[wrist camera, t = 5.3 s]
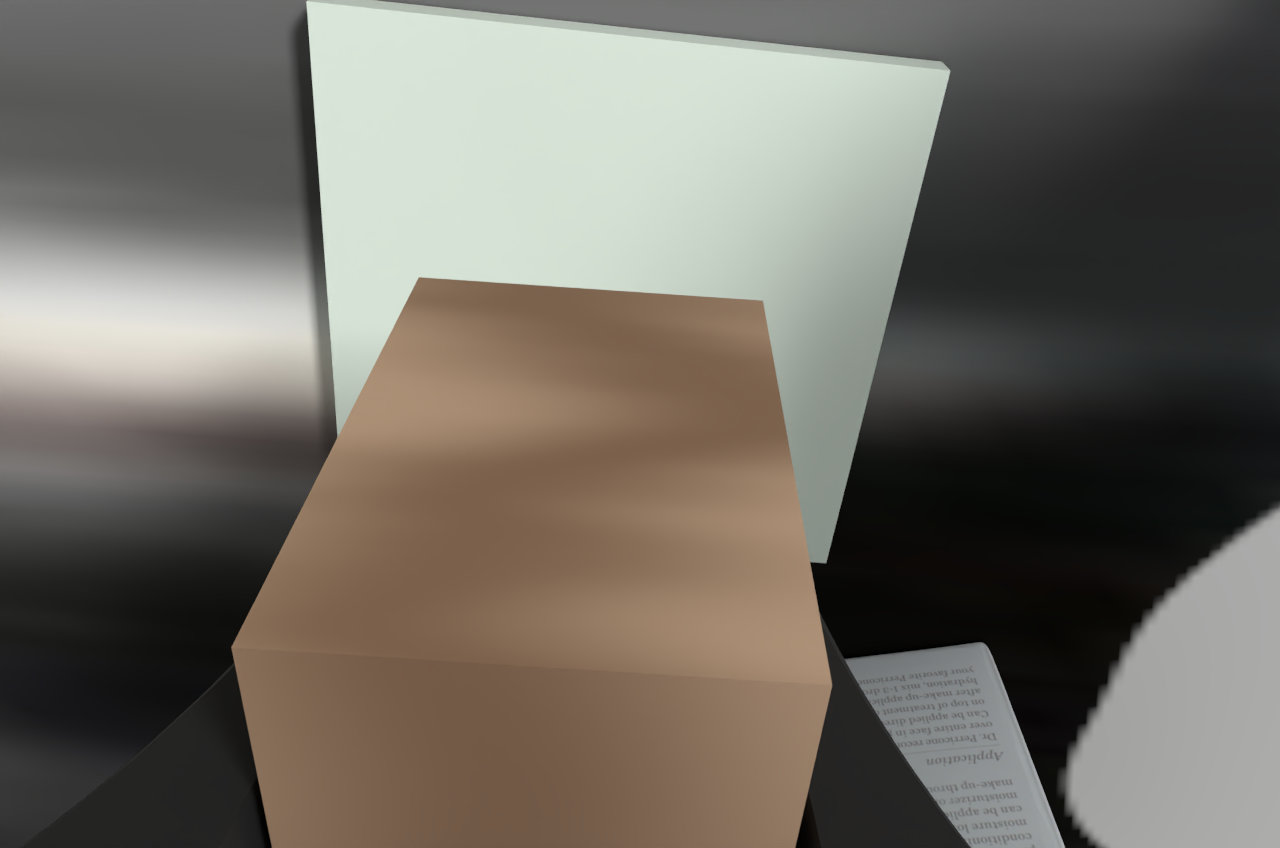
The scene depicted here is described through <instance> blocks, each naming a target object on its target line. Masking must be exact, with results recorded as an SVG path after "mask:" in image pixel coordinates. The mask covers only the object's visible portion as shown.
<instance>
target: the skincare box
mask: <svg viewBox="0 0 1280 848" xmlns="http://www.w3.org/2000/svg"><path fill="white" fill-rule="evenodd" d="M845 661H846V663H847V665H848V666H849V668H850V670H851V672H852V674H853V675H854V677H855V679H856V680H857V682H858V684H859V686H860V687H861V689H862V691H863V692H864V694H865V696H866V697H867V699H868V701H869V702H870V704H871V705H872V707H873V708H874V710H875V712H876V713H877V715H878V716H879V718H880V720H881V721H882V723H883V724H884V726H885V727H886V729H887V731H888V732H889V734H890V735H891V737H892V739H893V740H894V742H895V743H896V745H897V746H898V748H899V749H900V751H901V752H902V754H903V755H904V757H905V758H906V760H907V761H908V763H909V764H910V766H911V767H912V769H913V770H914V771H915V773H916V774H917V776H918V777H919V778H920V780H921V781H922V783H923V784H924V785H925V787H926V788H927V790H928V791H929V792H930V794H931V795H932V797H933V798H934V799H935V801H936V802H937V804H938V805H939V806H940V808H941V809H942V810H943V812H944V813H945V814H946V816H947V817H948V818H949V820H950V821H951V822H952V824H953V825H954V826H955V828H956V829H957V830H958V832H959V833H960V834H961V835H962V837H963V838H964V839H965V841H966V842H967V843H968V844H969V846H970V847H971V848H1065V847H1064V844H1063V841H1062V838H1061V836H1060V833H1059V830H1058V828H1057V825H1056V823H1055V820H1054V818H1053V815H1052V812H1051V810H1050V807H1049V804H1048V802H1047V799H1046V796H1045V794H1044V791H1043V788H1042V786H1041V783H1040V780H1039V778H1038V775H1037V773H1036V770H1035V767H1034V765H1033V762H1032V760H1031V757H1030V754H1029V752H1028V749H1027V746H1026V743H1025V741H1024V738H1023V735H1022V733H1021V730H1020V728H1019V725H1018V722H1017V720H1016V717H1015V715H1014V712H1013V709H1012V707H1011V704H1010V701H1009V699H1008V696H1007V693H1006V690H1005V688H1004V685H1003V683H1002V680H1001V677H1000V675H999V672H998V670H997V667H996V665H995V662H994V660H993V657H992V655H991V653H990V651H989V649H988V647H987V646H986V645H985V644H984V643H982V642H977V643H970V644H963V645H955V646H947V647H940V648H931V649H923V650H915V651H907V652H899V653H890V654H882V655H874V656H866V657H858V658H850V659H845Z"/></svg>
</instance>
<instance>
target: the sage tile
mask: <svg viewBox="0 0 1280 848" xmlns="http://www.w3.org/2000/svg"><path fill="white" fill-rule="evenodd" d="M307 15H308V30H309V44H310V58H311V72H312V86H313V100H314V114H315V128H316V142H317V156H318V170H319V184H320V198H321V212H322V226H323V240H324V254H325V268H326V283H327V297H328V311H329V325H330V339H331V353H332V367H333V381H334V395H335V409H336V423H337V437H338V436H339V434H340V432H341V430H342V428H343V426H344V424H345V422H346V420H347V418H348V416H349V414H350V412H351V410H352V408H353V406H354V404H355V402H356V400H357V398H358V396H359V394H360V392H361V390H362V388H363V386H364V384H365V382H366V380H367V378H368V376H369V375H370V373H371V371H372V369H373V367H374V365H375V363H376V361H377V359H378V357H379V355H380V353H381V351H382V349H383V347H384V345H385V343H386V341H387V339H388V337H389V335H390V333H391V331H392V329H393V327H394V325H395V323H396V321H397V319H398V317H399V315H400V313H401V311H402V309H403V307H404V305H405V303H406V301H407V299H408V297H409V295H410V293H411V292H412V290H413V288H414V286H415V284H416V282H417V280H418V278H419V277H422V278H437V279H452V280H467V281H481V282H496V283H511V284H526V285H540V286H555V287H570V288H585V289H599V290H614V291H629V292H644V293H658V294H673V295H688V296H703V297H717V298H732V299H747V300H762V301H763V304H764V309H765V315H766V321H767V326H768V332H769V337H770V343H771V348H772V354H773V359H774V365H775V370H776V376H777V382H778V387H779V393H780V398H781V404H782V409H783V415H784V420H785V426H786V431H787V437H788V443H789V448H790V454H791V459H792V465H793V470H794V476H795V481H796V487H797V492H798V498H799V503H800V509H801V515H802V520H803V526H804V531H805V537H806V542H807V548H808V553H809V559H810V562H817V563H826V562H827V558H828V554H829V550H830V546H831V542H832V538H833V534H834V530H835V526H836V522H837V519H838V515H839V511H840V507H841V503H842V499H843V495H844V491H845V487H846V483H847V479H848V475H849V471H850V467H851V463H852V459H853V455H854V451H855V447H856V443H857V439H858V435H859V431H860V427H861V423H862V419H863V415H864V411H865V408H866V404H867V400H868V396H869V392H870V388H871V384H872V380H873V376H874V372H875V368H876V364H877V360H878V356H879V352H880V348H881V344H882V340H883V336H884V332H885V328H886V324H887V320H888V316H889V312H890V308H891V304H892V300H893V297H894V293H895V289H896V285H897V281H898V277H899V273H900V269H901V265H902V261H903V257H904V253H905V249H906V245H907V241H908V237H909V233H910V229H911V225H912V221H913V217H914V213H915V209H916V205H917V201H918V197H919V193H920V189H921V185H922V182H923V178H924V174H925V170H926V166H927V162H928V158H929V154H930V150H931V146H932V142H933V138H934V134H935V130H936V126H937V122H938V118H939V114H940V110H941V106H942V102H943V98H944V94H945V90H946V86H947V82H948V78H949V74H950V70H949V69H948V68H947V67H946V66H945V64H944V63H943V62H940V61H931V60H921V59H912V58H903V57H894V56H884V55H875V54H866V53H857V52H847V51H838V50H829V49H820V48H810V47H801V46H792V45H783V44H773V43H764V42H755V41H746V40H736V39H727V38H718V37H709V36H699V35H690V34H681V33H672V32H662V31H653V30H644V29H635V28H625V27H616V26H607V25H598V24H588V23H579V22H570V21H561V20H551V19H542V18H533V17H524V16H514V15H505V14H496V13H487V12H477V11H468V10H459V9H450V8H440V7H431V6H422V5H413V4H403V3H394V2H385V1H376V0H308V1H307Z"/></svg>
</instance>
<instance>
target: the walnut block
mask: <svg viewBox="0 0 1280 848" xmlns="http://www.w3.org/2000/svg"><path fill="white" fill-rule="evenodd" d="M231 648H232V653H233V658H234V663H235V668H236V673H237V678H238V683H239V687H240V692H241V697H242V702H243V707H244V712H245V717H246V722H247V727H248V732H249V737H250V742H251V747H252V751H253V756H254V761H255V766H256V771H257V776H258V781H259V786H260V791H261V796H262V801H263V806H264V811H265V815H266V820H267V825H268V830H269V835H270V840H271V845H272V848H795V847H796V842H797V838H798V834H799V829H800V825H801V820H802V816H803V812H804V807H805V803H806V799H807V794H808V790H809V785H810V781H811V777H812V772H813V768H814V763H815V759H816V755H817V750H818V746H819V742H820V737H821V733H822V728H823V724H824V720H825V715H826V711H827V706H828V702H829V698H830V693H831V689H832V681H831V675H830V670H829V664H828V659H827V653H826V648H825V642H824V636H823V631H822V625H821V620H820V614H819V609H818V603H817V598H816V592H815V587H814V581H813V576H812V570H811V564H810V559H809V553H808V548H807V542H806V537H805V531H804V526H803V520H802V515H801V509H800V503H799V498H798V492H797V487H796V481H795V476H794V470H793V465H792V459H791V454H790V448H789V443H788V437H787V431H786V426H785V420H784V415H783V409H782V404H781V398H780V393H779V387H778V382H777V376H776V370H775V365H774V359H773V354H772V348H771V343H770V337H769V332H768V326H767V321H766V315H765V309H764V304H763V301H762V300H747V299H732V298H717V297H703V296H688V295H673V294H658V293H644V292H629V291H614V290H599V289H585V288H570V287H555V286H540V285H526V284H511V283H496V282H481V281H467V280H452V279H437V278H422V277H419V278H418V280H417V282H416V284H415V286H414V288H413V290H412V292H411V293H410V295H409V297H408V299H407V301H406V303H405V305H404V307H403V309H402V311H401V313H400V315H399V317H398V319H397V321H396V323H395V325H394V327H393V329H392V331H391V333H390V335H389V337H388V339H387V341H386V343H385V345H384V347H383V349H382V351H381V353H380V355H379V357H378V359H377V361H376V363H375V365H374V367H373V369H372V371H371V373H370V375H369V376H368V378H367V380H366V382H365V384H364V386H363V388H362V390H361V392H360V394H359V396H358V398H357V400H356V402H355V404H354V406H353V408H352V410H351V412H350V414H349V416H348V418H347V420H346V422H345V424H344V426H343V428H342V430H341V432H340V434H339V436H338V438H337V440H336V442H335V444H334V446H333V448H332V450H331V452H330V454H329V456H328V458H327V459H326V461H325V463H324V465H323V467H322V469H321V471H320V473H319V475H318V477H317V479H316V481H315V483H314V485H313V487H312V489H311V491H310V493H309V495H308V497H307V499H306V501H305V503H304V505H303V507H302V509H301V511H300V513H299V515H298V517H297V519H296V521H295V523H294V525H293V527H292V529H291V531H290V533H289V535H288V537H287V539H286V540H285V542H284V544H283V546H282V548H281V550H280V552H279V554H278V556H277V558H276V560H275V562H274V564H273V566H272V568H271V570H270V572H269V574H268V576H267V578H266V580H265V582H264V584H263V586H262V588H261V590H260V592H259V594H258V596H257V598H256V600H255V602H254V604H253V606H252V608H251V610H250V612H249V614H248V616H247V618H246V620H245V622H244V623H243V625H242V627H241V629H240V631H239V633H238V635H237V637H236V639H235V641H234V643H233V645H232V647H231Z"/></svg>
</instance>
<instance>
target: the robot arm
mask: <svg viewBox="0 0 1280 848" xmlns="http://www.w3.org/2000/svg"><path fill="white" fill-rule="evenodd" d="M819 614H820V612H819ZM820 620H821V625H822V631H823V636H824V642H825V648H826V653H827V659H828V664H829V670H830V675H831V681H832V689H831V693H830V698H829V702H828V706H827V711H826V715H825V720H824V724H823V728H822V733H821V737H820V742H819V746H818V750H817V755H816V759H815V763H814V768H813V772H812V777H811V781H810V785H809V790H808V794H807V799H806V803H805V807H804V812H803V816H802V820H801V825H800V829H799V834H798V838H797V842H796V847H795V848H971V847H970V846H969V844H968V843H967V842H966V841H965V839H964V838H963V837H962V835H961V834H960V833H959V832H958V830H957V829H956V828H955V826H954V825H953V824H952V822H951V821H950V820H949V818H948V817H947V816H946V814H945V813H944V812H943V810H942V809H941V808H940V806H939V805H938V804H937V802H936V801H935V799H934V798H933V797H932V795H931V794H930V792H929V791H928V790H927V788H926V787H925V785H924V784H923V783H922V781H921V780H920V778H919V777H918V776H917V774H916V773H915V771H914V770H913V769H912V767H911V766H910V764H909V763H908V761H907V760H906V758H905V757H904V755H903V754H902V752H901V751H900V749H899V748H898V746H897V745H896V743H895V742H894V740H893V739H892V737H891V735H890V734H889V732H888V731H887V729H886V727H885V726H884V724H883V723H882V721H881V720H880V718H879V716H878V715H877V713H876V712H875V710H874V708H873V707H872V705H871V704H870V702H869V701H868V699H867V697H866V696H865V694H864V692H863V691H862V689H861V687H860V686H859V684H858V682H857V680H856V679H855V677H854V675H853V674H852V672H851V670H850V668H849V666H848V665H847V663H846V661H845V659H844V658H843V656H842V654H841V652H840V650H839V649H838V647H837V645H836V643H835V641H834V639H833V637H832V636H831V634H830V632H829V630H828V628H827V626H826V624H825V622H824V620H823V618H822V616H821V614H820ZM20 848H272V845H271V840H270V835H269V830H268V825H267V820H266V815H265V811H264V806H263V801H262V796H261V791H260V786H259V781H258V776H257V771H256V766H255V761H254V756H253V751H252V747H251V742H250V737H249V732H248V727H247V722H246V717H245V712H244V707H243V702H242V697H241V692H240V687H239V683H238V678H237V673H236V668H235V663H233V664H232V665H231V666H230V667H229V668H228V669H227V670H226V671H225V672H224V673H223V674H222V675H221V676H220V677H219V678H218V679H217V680H216V681H215V682H214V683H213V684H212V685H211V686H210V687H209V688H208V689H207V690H206V691H205V692H204V693H203V694H202V695H201V696H200V697H199V698H198V699H197V700H196V701H195V702H194V703H193V704H191V705H190V706H189V707H188V708H187V709H186V710H185V711H184V712H183V713H182V714H181V715H180V716H178V717H177V718H176V719H175V720H174V721H173V722H172V723H171V724H170V725H169V726H168V727H166V728H165V729H164V730H163V731H162V732H161V733H160V734H159V735H158V736H157V737H156V738H155V739H153V740H152V741H151V742H150V743H149V744H148V745H147V746H146V747H145V748H144V749H143V750H141V751H140V752H139V753H138V754H137V755H136V756H135V757H133V758H132V759H131V760H130V761H129V762H127V763H126V764H125V765H124V766H123V767H122V768H120V769H119V770H118V771H117V772H116V773H115V774H113V775H112V776H111V777H110V778H109V779H107V780H106V781H105V782H104V783H103V784H101V785H100V786H99V787H98V788H97V789H95V790H94V791H93V792H92V793H90V794H89V795H88V796H87V797H85V798H84V799H83V800H82V801H80V802H79V803H78V804H77V805H75V806H74V807H73V808H71V809H70V810H69V811H68V812H66V813H65V814H64V815H63V816H61V817H60V818H59V819H58V820H56V821H55V822H54V823H52V824H51V825H50V826H48V827H47V828H46V829H44V830H43V831H42V832H40V833H39V834H38V835H36V836H35V837H34V838H32V839H31V840H29V841H28V842H27V843H25V844H24V845H23V846H21V847H20Z"/></svg>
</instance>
